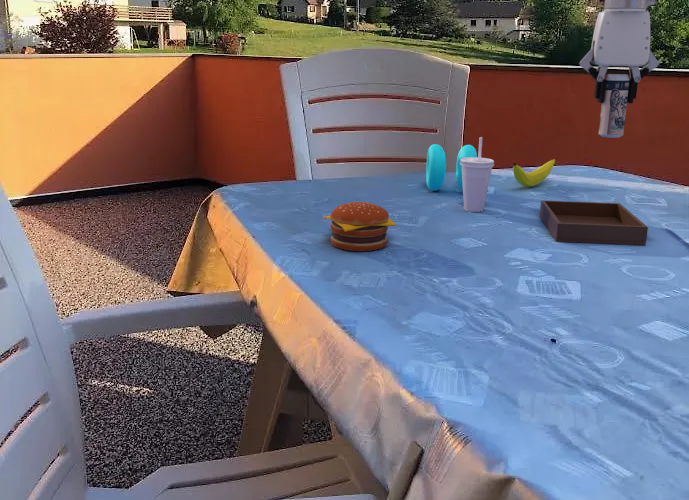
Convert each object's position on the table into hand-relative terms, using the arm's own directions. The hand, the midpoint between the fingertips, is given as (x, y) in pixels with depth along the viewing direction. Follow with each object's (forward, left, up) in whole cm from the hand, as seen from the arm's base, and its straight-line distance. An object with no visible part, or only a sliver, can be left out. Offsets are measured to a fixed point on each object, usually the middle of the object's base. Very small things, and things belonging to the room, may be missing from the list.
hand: (614, 101), depth 139 cm
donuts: (+31, -6, -20) cm, 37 cm away
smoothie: (+27, +11, -20) cm, 35 cm away
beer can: (0, 0, -7) cm, 7 cm away
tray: (+8, +23, -20) cm, 31 cm away
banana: (+12, -15, -20) cm, 28 cm away
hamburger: (+47, +38, -20) cm, 63 cm away
